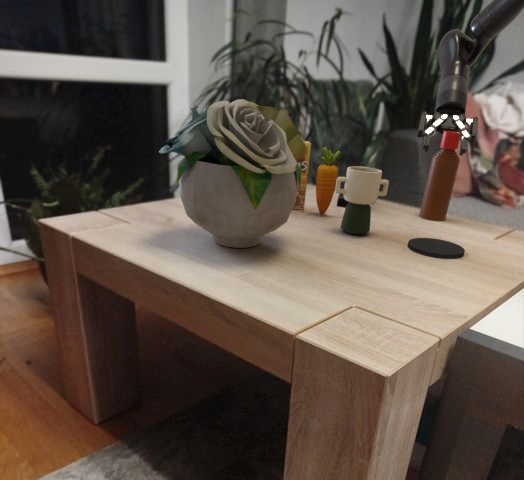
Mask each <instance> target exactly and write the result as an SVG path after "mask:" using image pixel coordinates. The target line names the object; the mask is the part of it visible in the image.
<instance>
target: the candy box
mask: <svg viewBox="0 0 524 480" xmlns="http://www.w3.org/2000/svg"><path fill="white" fill-rule="evenodd" d="M304 142H305V145H306V148H307V150H306V152H305V153H304V154H303V155H302V156H300V157H294V158H295V160H296V161H297V164H298V165H299V166H300V167H301V168H302V175H301V184H300V189H299V184H298V187H297V195H296V202H295V204H294V207H293V209H292V210H297V211H304V210H305V204H306V203H305V202H306V194H307V187H308V186H307V185H308V177H309V176H308V175H309V167H310V157H311V148H312V143H311V142H310V141H307V140H304ZM297 182H298V178H297Z"/></svg>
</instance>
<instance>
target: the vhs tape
mask: <svg viewBox="0 0 524 480" xmlns="http://www.w3.org/2000/svg"><path fill="white" fill-rule="evenodd" d="M340 189H344V187H340ZM343 195H344V194H339V193H338V197H337V203H336V206H337V207H343V208H346V206H347V204H348V203H349V202H348V201H346V200H345V199H344V196H343Z"/></svg>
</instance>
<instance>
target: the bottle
mask: <svg viewBox="0 0 524 480" xmlns="http://www.w3.org/2000/svg"><path fill="white" fill-rule="evenodd" d="M457 153H458V152H456V150H454V149H444V148H440V149H439V150H437V152H435V153H434V154H433V156H432V157H431V161H430V164H429V169H428V174H427V178H426V183H425V186H424V190H423V191H424V193H423V196H422V201H421V205H420V209H419V214H418V216H419V217H420V218H422V219H424V220H427V221H435V222H440V221H441V222H442V221H445V220H446V218H447V215H448V209H449V206H450V204H451V203H450V202H451V198H452V195H453V191H454V186H455V182H456V178H457V175H458V170H459V166H460V162H461V160H460V157H459V155H458V154H457Z"/></svg>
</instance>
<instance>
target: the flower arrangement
mask: <svg viewBox="0 0 524 480" xmlns="http://www.w3.org/2000/svg"><path fill="white" fill-rule="evenodd" d="M198 109H199V106H198V105H197V104H196V103H195V104H193V107H192V108H190V111H191V119H190V120H189V121H187V122H186V124H185V125H184V126H183V127H182V128H181V129H178V130H177V131H176V132H175V133H173V134H174V137H170V138H169V139H166V140H165V141H164V143H165V144H166V145H164V146H163V147H162V148H160V150H159V151H158V153H159V154H161V155H162V154H168V153H169V154H170V153H175V154H177V155H180V156H182V157H183V158H182V159H181V160H180V161H179V162H178V163H177V169H176V170H177V171H176V185H178V184H179V187H178V188H179V196H180V200H181V203H182V205H183V208H184V211H185V214H186V216H187V217H188V218H189V219H190V220H191V221H192V222H193V223H194V224H195V225H197V227H200V228H201V229H203V230H205V231H207V232H208V233H209V234H211V237H212V240H213V241H214V242H215V243H216V244H218V245H219V246H223V247H227V248H235V249H246V248H252V247H254V246H257V245H258V244H259V242H260V240H261V238H262V237H263V236H266V235H267V234H270V233H273V232H276V231H277V230H278V229H280V228H281V227H282V226H284V225H285V224H286V223H287V222H288V220H289V219H290V215H291V214H292V211H293V210H294V209H293V207H294V204H295V202H296V195H297V187H298V184H299V189H300V184H301V175H302V168H301V167H300V166H299V165H298V164H297V161H296V160H295V158H294V157H300V156H302V155H303V154H304V153H305V152H306V150H307V148H306V145H305V142H304V141H305V140H304V139H303V133H302V131H300V130H299V129H298V128H297V127H296V126H295V124H294V123H293V121H292V119H291V117H290V115H289V114H288V112H287V110H285V109H280V110H279V109H278V108H276V107H273V106H267V105H266V106H265V105H264V106H262V105H258V104H257V103H254V102H253V101H249V100H246V99H245V98H241V99H235V100H233V99H227V100H219V101H216V102H214V103H211V104H210V105H209V106H206V108H204V109H202V110H201V111H200V112H199V111H198ZM297 178H298V182H297Z"/></svg>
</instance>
